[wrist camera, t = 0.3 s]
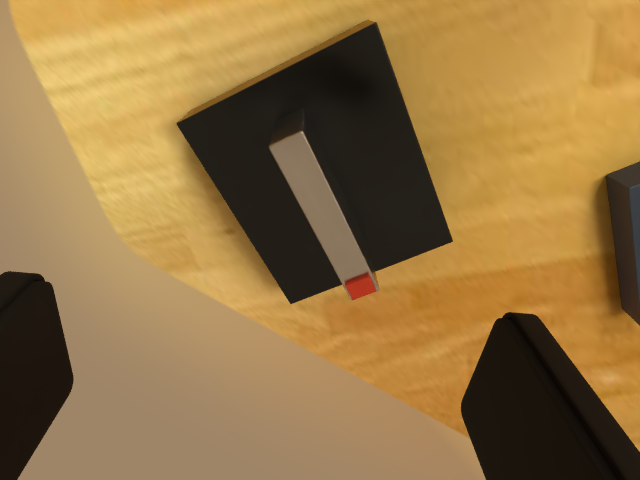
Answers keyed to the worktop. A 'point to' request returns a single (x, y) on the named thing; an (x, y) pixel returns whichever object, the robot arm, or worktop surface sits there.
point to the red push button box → (627, 234)
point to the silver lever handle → (323, 202)
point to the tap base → (342, 152)
